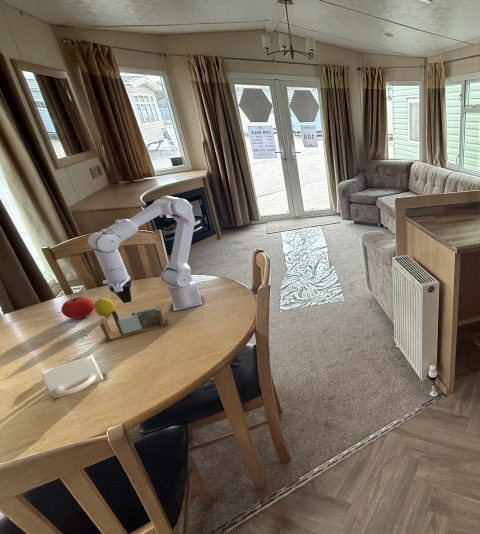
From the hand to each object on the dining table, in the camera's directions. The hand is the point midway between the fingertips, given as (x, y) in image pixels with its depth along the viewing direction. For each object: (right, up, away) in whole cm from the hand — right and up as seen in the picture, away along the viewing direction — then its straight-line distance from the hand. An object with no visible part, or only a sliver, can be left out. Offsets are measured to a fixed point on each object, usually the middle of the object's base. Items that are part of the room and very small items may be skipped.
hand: (127, 301), depth 121 cm
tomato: (-26, -7, +9) cm, 28 cm away
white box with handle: (+9, -23, -24) cm, 35 cm away
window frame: (+2, -11, +2) cm, 11 cm away
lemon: (-16, -7, +9) cm, 20 cm away
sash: (+2, -11, 0) cm, 11 cm away
